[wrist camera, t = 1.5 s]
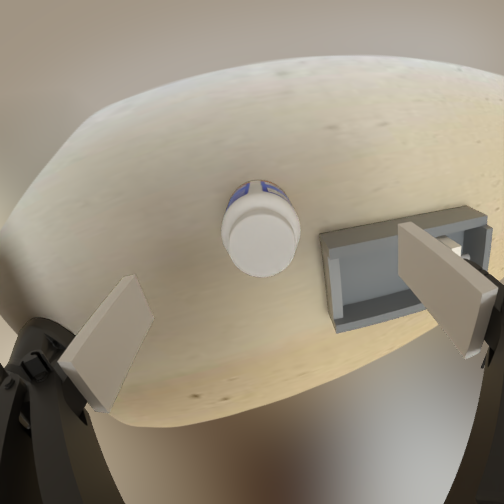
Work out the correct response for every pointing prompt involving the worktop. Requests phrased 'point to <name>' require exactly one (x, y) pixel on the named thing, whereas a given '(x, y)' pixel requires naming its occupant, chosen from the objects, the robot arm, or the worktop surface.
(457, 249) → the pusher
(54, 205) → the worktop surface
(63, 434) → the robot arm
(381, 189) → the worktop surface
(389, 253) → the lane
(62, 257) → the worktop surface
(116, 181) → the worktop surface
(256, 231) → the pill bottle
